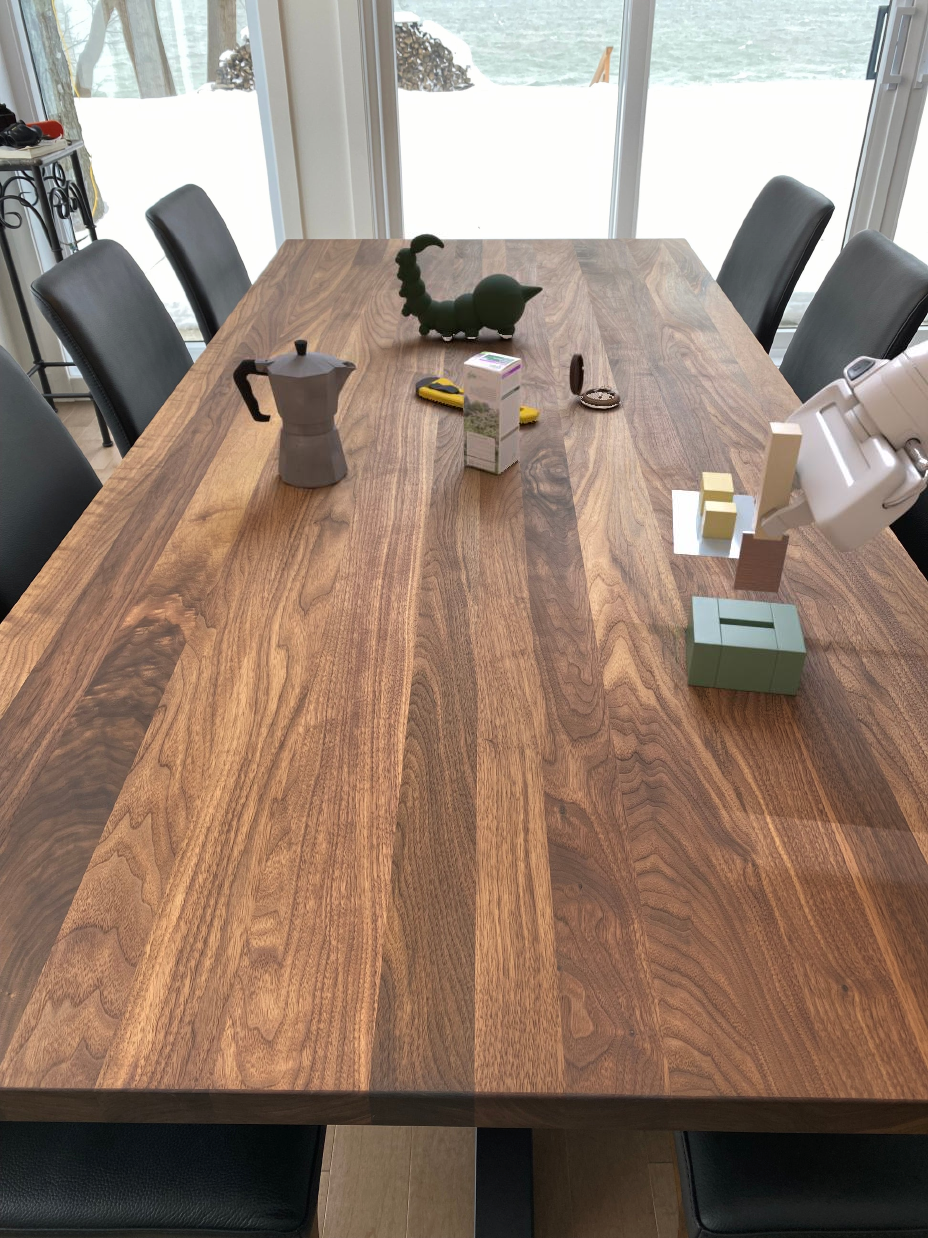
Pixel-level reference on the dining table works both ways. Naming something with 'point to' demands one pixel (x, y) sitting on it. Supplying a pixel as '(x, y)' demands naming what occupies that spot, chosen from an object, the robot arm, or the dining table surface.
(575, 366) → the compass
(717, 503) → the butter pat
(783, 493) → the putty knife
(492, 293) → the toy figurine
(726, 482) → the butter stick
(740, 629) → the knife block
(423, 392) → the utility knife
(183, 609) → the dining table surface
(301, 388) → the coffeepot
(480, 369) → the syrup box
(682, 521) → the butter dish
